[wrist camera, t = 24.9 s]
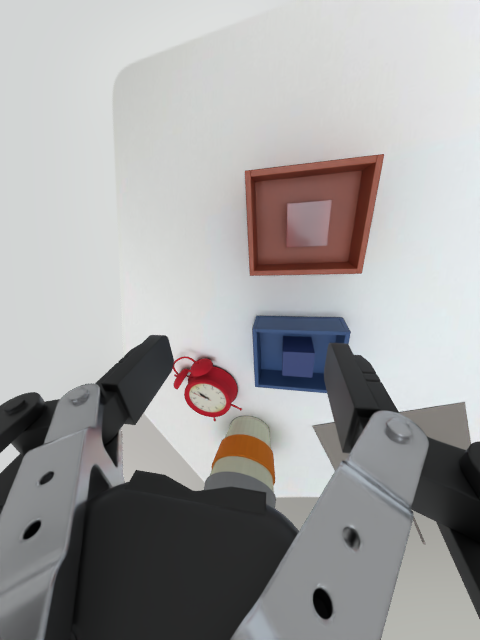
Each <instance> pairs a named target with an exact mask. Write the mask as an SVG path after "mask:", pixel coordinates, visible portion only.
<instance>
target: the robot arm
mask: <svg viewBox="0 0 480 640" xmlns="http://www.w3.org/2000/svg"><path fill="white" fill-rule="evenodd" d="M173 365H174V359H173V355H172V351H171V347H170V344H169V340H168V337H167V336H164V335H150V336H149V337H148V338H147V339H146V340H145V341H144V342H143V343H142V344H140V345H138V346H137V347H135V348H133V349H131V350H130V351H129V352H128V353H127V354H126V355H125V356H124V358H122V359H121V360H120V361H119V363H117V364H115V365H114V367H112V368H111V369H110V370H109V371H108V372H107V373H106V374H105V375H104V376H103V377H102V378H101V379H100V380H98V381H97V382H96V383H95V384H85V385H81V386H79V387H76V388H74V389H72V390H71V391H69V392H68V393H66V394H65V395H64V396H63V397H62V398H61V399H58V400H52V401H46V402H44V400H43V399H42V397H41V396H40V395H39V394H38V393H35V392H33V393H26V394H22V395H19V396H17V397H15V398H13V399H10V400H9V401H7V402H5V403H4V404H2V405H1V406H0V453H1V452H2V451H3V450H4V449H5V448H6V447H7V446H8V445H9V444H10V443H11V444H12V445H13V446H14V447H15V448H16V449H17V450H18V451H19V452H20V455H19V456H18V457H17V458H16V459H14V461H12V463H10V464H9V465H8V466H7V467H6V468H5V469H4V470H3V471H2V472H1V473H0V640H381V637H382V633H383V629H384V626H385V622H386V618H387V615H388V611H389V607H390V603H391V600H392V596H393V592H394V589H395V585H396V581H397V578H398V574H399V570H400V566H401V563H402V559H403V555H404V552H405V548H406V544H407V541H408V536H409V533H410V529H411V526H412V521H413V511H411V509H412V510H414V511H416V512H418V513H420V514H422V515H424V516H426V517H428V518H430V519H432V520H434V521H436V522H437V524H438V526H439V529H440V531H441V533H442V536H443V538H444V540H445V542H446V545H447V547H448V549H449V551H450V554H451V556H452V558H453V560H454V563H455V565H456V567H457V569H458V571H459V574H460V576H461V578H462V581H463V582H464V585H465V587H466V589H467V591H468V594H469V596H470V598H471V600H472V603H473V605H474V607H475V609H476V612H477V614H478V616H479V619H480V442H475V443H472V444H471V445H470V446H469V447H468V449H467V450H464V449H461V448H458V447H455V446H452V445H449V444H446V443H443V442H440V441H438V440H435V439H432V438H430V437H428V436H426V435H425V433H424V431H423V430H422V429H421V428H420V427H419V426H418V425H417V424H416V423H415V422H413V421H412V420H410V419H409V418H407V417H405V416H404V415H401V414H399V412H398V410H397V408H396V407H395V405H394V403H393V401H392V400H391V398H390V396H389V395H388V393H387V391H386V389H385V388H384V386H383V384H382V383H381V382H380V379H379V377H378V376H377V374H376V372H375V370H374V369H373V367H372V365H371V364H370V363H369V362H368V361H367V360H366V359H364V358H363V357H362V356H361V355H353V353H352V351H351V349H350V347H349V345H348V344H347V343H329V344H328V348H327V355H326V361H325V367H324V381H325V386H326V390H327V394H328V398H329V402H330V406H331V410H332V413H333V417H334V421H335V425H336V429H337V433H338V437H339V441H340V445H341V449H342V453H349V456H348V457H347V459H346V460H345V461H344V460H343V461H342V462H341V463H340V464H339V466H338V467H337V469H336V471H335V472H334V474H333V476H332V477H331V479H330V481H329V482H328V484H327V486H326V487H325V489H324V491H323V492H322V494H321V496H320V497H319V499H318V501H317V503H316V504H315V506H314V507H313V509H312V511H311V513H310V514H309V516H308V518H307V519H306V521H305V522H304V524H303V526H302V527H301V529H300V531H299V530H298V529H297V528H296V527H295V526H294V525H293V523H292V522H290V520H288V519H287V518H286V517H285V516H284V515H283V514H281V513H280V512H279V511H277V510H276V509H275V508H273V507H271V506H269V505H268V504H267V493H266V492H261V491H256V490H250V489H244V488H238V487H232V486H231V487H223V488H216V489H209V490H202V491H192V490H190V489H189V488H187V487H185V486H183V485H182V484H180V483H178V482H176V481H174V480H173V479H171V478H169V477H167V476H166V475H162V474H156V473H150V472H144V471H138V470H136V471H135V473H134V474H133V476H132V478H131V480H130V482H126V483H125V481H124V477H123V460H122V459H123V456H122V455H123V453H122V431H121V427H122V426H123V424H131V425H136V423H137V421H138V420H139V419H140V417H141V416H142V414H143V413H144V411H145V410H146V408H147V407H148V405H149V404H150V402H151V401H152V399H153V398H154V396H155V395H156V393H157V392H158V390H159V389H160V387H161V386H162V384H163V383H164V381H165V380H166V379H167V377H168V376H169V374H170V373H171V371H172V369H173Z"/></svg>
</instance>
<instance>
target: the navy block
mask: <svg viewBox="0 0 480 640" xmlns="http://www.w3.org/2000/svg"><path fill="white" fill-rule="evenodd" d="M314 358H315V351H314V346H313V342H312V337H294V336H283V355H282V375H283V376H296V377H310V378H312V377H313V367H314Z"/></svg>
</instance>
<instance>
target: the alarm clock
mask: <svg viewBox="0 0 480 640" xmlns="http://www.w3.org/2000/svg"><path fill="white" fill-rule="evenodd" d="M182 358H188V359H190V360H192V361H193V362H195V363H194V364H193V365H192V367H191V370H189V369H183V370H182V371H181V372H180V373H179V374H178V373H177V371H176V370H175V368H174V365H173V369H174V371H175V372H176V373H177V375H176V374H175V375H174V376H176V377H177V378H176V379H175V382H174V388H175V389H178V388H179V386H180V385H181V383H182V382H183V380H184V378H185V377H186V376H187V377H189V378H188V385H187V386H186V388H185V394H184V395H185V400H186V402H187V404H188V405H189V406H190V407H191V408H192V409H193V410H194V411H196V412H197V413H199V414H201V415H204V416H208V417H213V418H214V421H216V419H215V417H218V416H222V415H224V414H225V413H226V412H227V411H228V410H229V408H230V406H233V407H235V408H238V409H240V410H242V408H239V407H237V406H235V405H233V404H231V403H232V402H233V401H234V400H235V398H236V396H237V392H238V388H237V384H236V382H235V380H234V379H233V377H232V376H231V375H230V374H229V373H227V372H226V371H224V370H222V369H220V368H218V367H214V366H213V363H212V361H211V360H210V359H206V358H205V359H200V360H198V361H194V360H193V359H192V358H190V357H181V358H179V359H177V360H176V361H175V362H174V364H175V363H176V362H177V361H178V360H180V359H182ZM188 372H190V373H191V374H190V376H188V375H187V374H188Z"/></svg>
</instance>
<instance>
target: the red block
mask: <svg viewBox="0 0 480 640" xmlns="http://www.w3.org/2000/svg"><path fill="white" fill-rule="evenodd" d="M331 206H332V200H321V201H310V202H299V203H288V204H287V217H286V248H292V247H313V246H327V244H328V234H329V225H330V216H331Z"/></svg>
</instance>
